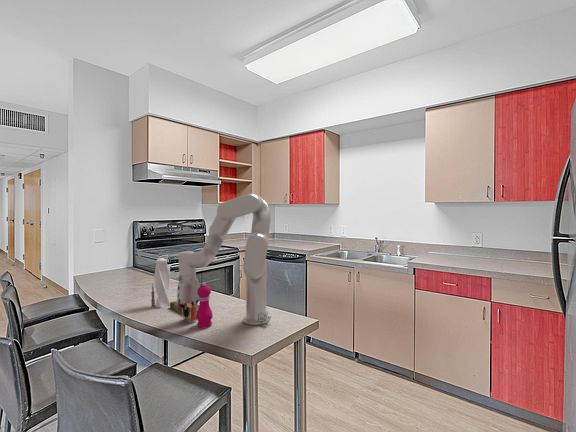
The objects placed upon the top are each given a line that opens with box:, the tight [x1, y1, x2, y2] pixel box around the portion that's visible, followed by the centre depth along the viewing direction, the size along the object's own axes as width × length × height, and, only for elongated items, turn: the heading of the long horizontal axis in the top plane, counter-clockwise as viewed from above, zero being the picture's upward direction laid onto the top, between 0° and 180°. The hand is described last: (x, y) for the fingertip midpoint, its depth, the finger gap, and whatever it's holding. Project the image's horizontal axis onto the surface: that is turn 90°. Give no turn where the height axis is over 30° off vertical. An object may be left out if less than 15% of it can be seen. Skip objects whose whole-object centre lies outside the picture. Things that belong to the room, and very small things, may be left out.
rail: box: [169, 300, 200, 314], centre depth 160 cm, size 22×8×3 cm, turn 48°
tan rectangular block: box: [181, 303, 198, 323], centre depth 146 cm, size 8×3×7 cm, turn 48°
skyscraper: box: [150, 254, 170, 310], centre depth 168 cm, size 8×8×28 cm
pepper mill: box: [196, 282, 213, 329], centre depth 140 cm, size 7×7×20 cm
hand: (189, 315), depth 146 cm, fingers closed on tan rectangular block, 3 cm apart
